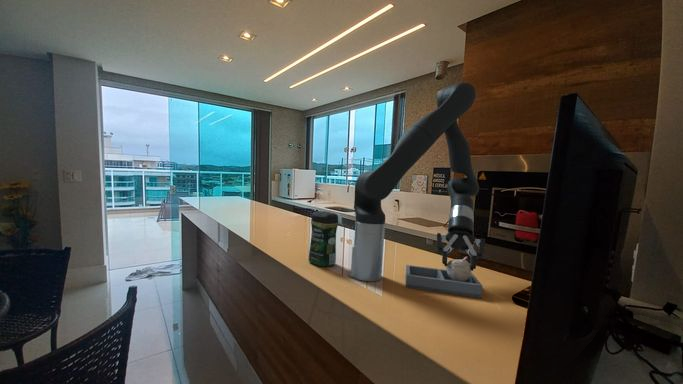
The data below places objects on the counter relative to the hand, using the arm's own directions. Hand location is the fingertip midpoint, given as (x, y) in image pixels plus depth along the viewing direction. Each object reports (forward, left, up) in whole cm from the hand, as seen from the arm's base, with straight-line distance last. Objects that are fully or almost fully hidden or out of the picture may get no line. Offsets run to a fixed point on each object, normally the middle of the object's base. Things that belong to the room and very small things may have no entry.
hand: (458, 266), depth 77 cm
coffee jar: (-44, +8, -7) cm, 45 cm away
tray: (-5, +2, -7) cm, 8 cm away
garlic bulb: (0, +2, -5) cm, 5 cm away
